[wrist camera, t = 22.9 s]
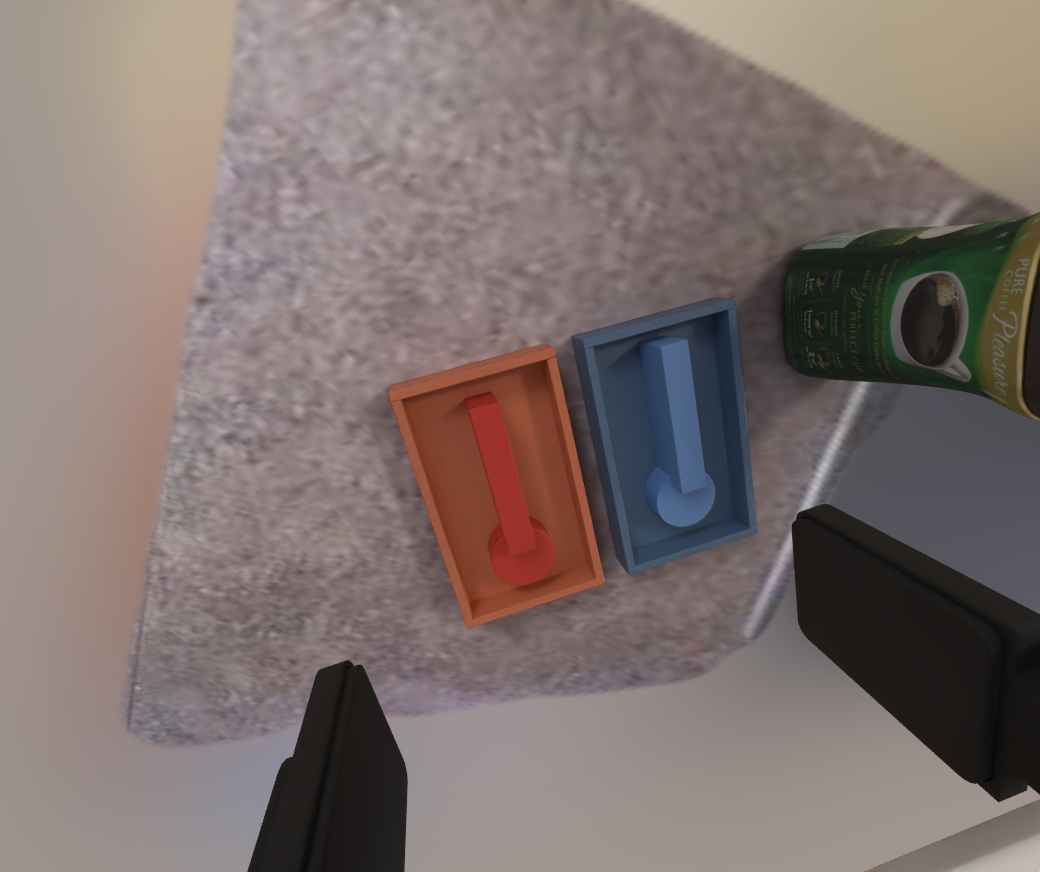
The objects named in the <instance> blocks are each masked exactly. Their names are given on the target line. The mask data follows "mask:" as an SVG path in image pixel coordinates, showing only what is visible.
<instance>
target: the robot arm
mask: <svg viewBox="0 0 1040 872" xmlns="http://www.w3.org/2000/svg"><path fill="white" fill-rule="evenodd" d="M792 541H793V555H794V569H795V584H796V597H797V611H798V622H799V626H800V628H801V630H802V632H803V633H804V635H805V636H806V637H807V638H808V640H810V641H811V642H812V643H813V644H814V645H815V646H816V647H817V648H818V649H819V650H821V651H822V652H823V653H824V654H825V655H826V656H827V657H828V658H829V659H831V660H832V661H833V662H834V663H835V664H836V665H837V666H838V667H839V668H841V669H842V670H843V671H844V672H845V673H846V674H847V675H848V676H850V678H852V679H853V680H854V681H855V682H856V683H857V684H858V685H859V686H861V687H862V688H863V689H864V690H865V691H866V692H867V693H868V694H869V695H870V696H872V697H873V698H874V699H875V700H876V701H877V702H878V703H879V704H880V705H882V706H883V707H884V708H885V709H886V710H887V711H888V712H889V713H891V714H892V715H893V716H894V717H895V718H896V719H897V720H898V721H899V722H900V723H902V724H903V725H904V726H905V727H906V728H907V729H908V730H909V731H910V732H912V733H913V734H914V735H915V736H916V737H917V738H918V739H919V740H920V741H921V742H922V743H924V744H925V745H926V746H927V747H928V748H929V749H930V750H932V751H933V752H934V753H935V754H936V755H937V756H938V757H939V758H940V759H941V760H943V761H944V762H945V763H946V764H947V765H948V766H949V767H950V768H951V769H952V770H954V771H955V772H956V773H957V774H958V775H959V776H961V777H962V778H963V779H964V780H966V781H968V782H970V783H974V784H976V783H978V784H979V785H980V786H981V787H982V788H983V789H984V790H985V791H987V792H988V793H989V794H990V795H991V796H992V797H993V798H994V799H996V800H997V801H998V802H1000V801H1003V800H1005V799H1007V798H1010V797H1012V796H1015V795H1017V794H1019V793H1022V792H1024V791H1027V786H1028V785H1029V786H1030V787H1031V788H1033V789H1034V790H1035V791H1036V792H1037V793H1039V794H1040V614H1038V613H1036V612H1034V611H1032V610H1030V609H1029V608H1026V607H1024V606H1023V605H1021V604H1019V603H1017V602H1015V601H1013V600H1011V599H1009V598H1007V597H1006V596H1004V595H1001V594H1000V593H998V592H996V591H994V590H992V589H990V588H988V587H986V586H984V585H983V584H981V583H979V582H977V581H975V580H973V579H971V578H969V577H967V576H965V575H963V574H961V573H960V572H958V571H956V570H954V569H952V568H950V567H948V566H946V565H944V564H942V563H940V562H938V561H937V560H935V559H933V558H931V557H929V556H927V555H925V554H923V553H921V552H919V551H917V550H915V549H914V548H912V547H910V546H908V545H906V544H904V543H902V542H900V541H898V540H896V539H894V538H892V537H891V536H889V535H887V534H885V533H883V532H881V531H879V530H877V529H875V528H873V527H871V526H869V525H868V524H865V523H864V522H862V521H860V520H858V519H856V518H854V517H852V516H850V515H848V514H846V513H844V512H843V511H841V510H839V509H837V508H835V507H833V506H831V505H828V504H822V505H819V506H816V507H813V508H810V509H807V510H804V511H801V512H799V513H798V514H797V517H796V521H794V522H793V523H792ZM407 784H408V781H407V771H406V766H405V762H404V760H403V757H402V755H401V753H400V750H399V748H398V746H397V743H396V741H395V739H394V736H393V734H392V732H391V729H390V727H389V725H388V722H387V720H386V718H385V716H384V713H383V711H382V709H381V706H380V704H379V702H378V699H377V697H376V695H375V692H374V690H373V688H372V685H371V683H370V681H369V679H368V676H367V674H366V672H365V669H364V667H363V666H362V665H357V666H354V665H353V664H352V662H351V661H348V660H347V661H344V662H341V663H338V664H335V665H332V666H329V667H326V668H323V669H320V670H319V671H318V672H317V674H316V677H315V681H314V684H313V688H312V691H311V695H310V698H309V702H308V705H307V709H306V712H305V716H304V719H303V723H302V726H301V730H300V733H299V737H298V740H297V744H296V747H295V750H294V754H293V757H290V758H287V759H286V760H285V761H284V762H283V763H282V764H281V767H280V769H279V771H278V774H277V777H276V781H275V784H274V787H273V790H272V793H271V797H270V800H269V804H268V807H267V810H266V813H265V816H264V819H263V823H262V826H261V829H260V833H259V836H258V839H257V842H256V845H255V849H254V852H253V856H252V858H251V862H250V865H249V868H248V872H404V866H405V838H406V813H407ZM865 872H1040V800H1038V801H1035V802H1032V803H1030V804H1027V805H1025V806H1022V807H1020V808H1018V809H1015V810H1013V811H1010V812H1008V813H1005V814H1003V815H1001V816H998V817H996V818H993V819H991V820H988V821H986V822H983V823H981V824H979V825H976V826H974V827H971V828H969V829H967V830H964V831H962V832H959V833H957V834H954V835H952V836H949V837H947V838H945V839H942V840H940V841H937V842H935V843H932V844H930V845H928V846H925V847H923V848H920V849H918V850H916V851H913V852H911V853H908V854H906V855H904V856H901V857H899V858H896V859H894V860H891V861H889V862H886V863H884V864H882V865H879V866H877V867H874V868H872V869H870V870H867V871H865Z"/></svg>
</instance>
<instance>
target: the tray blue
mask: <svg viewBox="0 0 1040 872" xmlns="http://www.w3.org/2000/svg"><path fill="white" fill-rule="evenodd" d="M735 307H736V300H735V298H710V299H707V300H703V301H699V302H696V303H692V304H688V305H685V306H681V307H677V308H674V309H670V310H666V311H663V312H659V313H655V314H652V315H648V316H644V317H640V318H637V319H633V320H629V321H626V322H622V323H618V324H615V325H611V326H607V327H604V328H600V329H596V330H593V331H589V332H585V333H582V334H578V335H574V336H571V338H572V343H573V348H574V353H575V358H576V363H577V367H578V372H579V377H580V382H581V387H582V392H583V397H584V402H585V407H586V411H587V416H588V421H589V426H590V431H591V436H592V441H593V446H594V451H595V456H596V460H597V465H598V470H599V475H600V480H601V485H602V490H603V495H604V500H605V505H606V509H607V514H608V519H609V524H610V529H611V534H612V539H613V544H614V549H615V553H616V558H617V559H618V561H619V562H620V563H621V565H622V566H623V568H624V569H625V570H626V572H627V573H628V574H629V575H632V574H635V573H638V572H641V571H644V570H647V569H650V568H653V567H656V566H659V565H662V564H665V563H668V562H671V561H674V560H677V559H680V558H683V557H686V556H689V555H692V554H695V553H698V552H702V551H705V550H708V549H711V548H714V547H717V546H720V545H723V544H726V543H729V542H732V541H735V540H738V539H741V538H744V537H747V536H750V535H753V534H756V533H758V532H757V522H756V511H755V501H754V490H753V480H752V469H751V459H750V448H749V438H748V427H747V417H746V406H745V396H744V385H743V375H742V364H741V354H740V343H739V333H738V322H737V312H736V308H735ZM660 335H665V336H671V337H677V338H682V339H687V340H688V345H689V353H690V360H691V368H692V376H693V384H694V391H695V399H696V407H697V415H698V422H699V430H700V438H701V446H702V453H703V461H704V469H705V473H706V474H708V475H709V476H710V478H711V479H712V481H713V483H714V487H715V499H714V502H713V505H712V507H711V509H710V511H709V512H708V513H707V515H706V516H705V517H704V518H702V519H701V520H700V521H698V522H697V523H695V524H693V525H690V526H686V527H676V526H672V525H670V524H668V523H666V522H665V521H664V520H663V519H662V518H661V517H660V516H659V515H657V514H656V513H655V512H654V511H653V510H652V509H651V508H650V506H649V505H648V503H647V501H646V497H645V487H646V483H647V480H648V478H649V476H650V475H651V473H652V472H653V471H654V470H655V469H656V468H657V467H658V464H657V458H656V451H655V445H654V439H653V433H652V427H651V421H650V414H649V408H648V402H647V396H646V390H645V383H644V377H643V371H642V365H641V359H640V353H639V346H638V342H639V341H642V340H645V339H649V338H653V337H656V336H660Z"/></svg>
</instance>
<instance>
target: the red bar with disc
mask: <svg viewBox="0 0 1040 872" xmlns="http://www.w3.org/2000/svg"><path fill="white" fill-rule="evenodd" d="M465 403H466V406H467V410H468V413H469V417H470V420H471V424H472V427H473V431H474V434H475V438H476V441H477V445H478V448H479V452H480V455H481V459H482V462H483V466H484V469H485V473H486V476H487V480H488V483H489V487H490V491H491V494H492V498H493V501H494V505H495V508H496V512H497V515H498V519H499V522H500V524H498V525H497V526H496V528H495V529H494V530H493V532H492V533H491V535H490V538H489V542H488V550H489V555H490V559H491V563H492V567H493V569H494V571H495V573H496V575H497V576H498V577H499V578H500V579H501V580H503V581H504V582H506V583H509V584H511V585H517V586H523V585H529V584H532V583H535V582H537V581H539V580H540V579H542V578H543V577H544V576H545V575H546V574H547V573H548V572H549V571H550V569H551V567H552V565H553V563H554V559H555V547H554V544H553V542H552V540H551V538H550V536H549V534H548V532H547V530H546V528H545V527H544V525H543V524H542V523H541V522H539V521H538V520H536V519H535V518H532V517H529V516H528V512H527V508H526V504H525V500H524V497H523V493H522V489H521V485H520V481H519V477H518V474H517V470H516V466H515V462H514V458H513V455H512V451H511V447H510V443H509V439H508V435H507V432H506V428H505V424H504V420H503V416H502V412H501V409H500V405H499V402H498V400H497V399H496V398H495V396H494V395H493V393H492V392H491V391H490V392H486V393H483V394H479V395H475V396H472V397H468V398H465Z"/></svg>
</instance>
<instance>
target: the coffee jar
mask: <svg viewBox="0 0 1040 872" xmlns="http://www.w3.org/2000/svg"><path fill="white" fill-rule="evenodd" d="M782 311H783V334H784V343H785V350H786V355H787V357H788V360H789V362H790V363H791V365H792V366H793V367H794V368H795V369H796V370H797V371H798V372H800V373H801V374H803V375H806V376H810V377H817V378H824V379H833V380H846V381H864V382H884V383H898V384H911V385H921V386H922V385H923V386H931V387H939V388H946V389H952V390H958V391H963V392H968V393H972V394H976V395H980V396H983V397H986V398H988V399H991V400H993V401H995V402H997V403H999V404H1001V405H1002V406H1004V407H1006V408H1008V409H1009V410H1011V411H1013V412H1015V413H1017V414H1020V415H1022V416H1025V417H1028V418H1031V419H1035V420H1039V421H1040V212H1039V213H1036V214H1034V215H1032V216H1029V217H1024V218H1019V219H1012V220H1004V221H997V222H988V223H981V224H970V225H958V226H942V227H917V228H888V229H870V230H860V231H851V232H844V233H837V234H833V235H829V236H825V237H822V238H819V239H817V240H814V241H812V242H810V243H808V244H807V245H805V246H804V247H803V248H802V249H800V250H799V251H798V252H797V253H796V255H795V256H794V257H793V259H792V261H791V262H790V264H789V266H788V269H787V272H786V276H785V282H784V292H783V307H782Z"/></svg>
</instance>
